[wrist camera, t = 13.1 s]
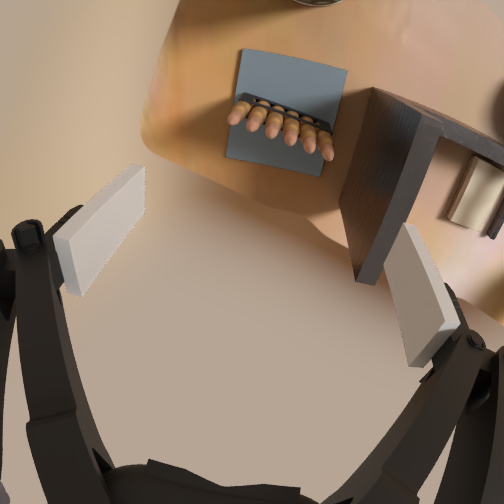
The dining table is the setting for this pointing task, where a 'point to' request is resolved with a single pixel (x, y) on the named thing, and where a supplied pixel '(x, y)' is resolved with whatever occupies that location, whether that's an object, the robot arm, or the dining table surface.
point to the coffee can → (319, 2)
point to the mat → (288, 94)
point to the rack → (397, 174)
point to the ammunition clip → (291, 119)
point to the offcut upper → (477, 194)
